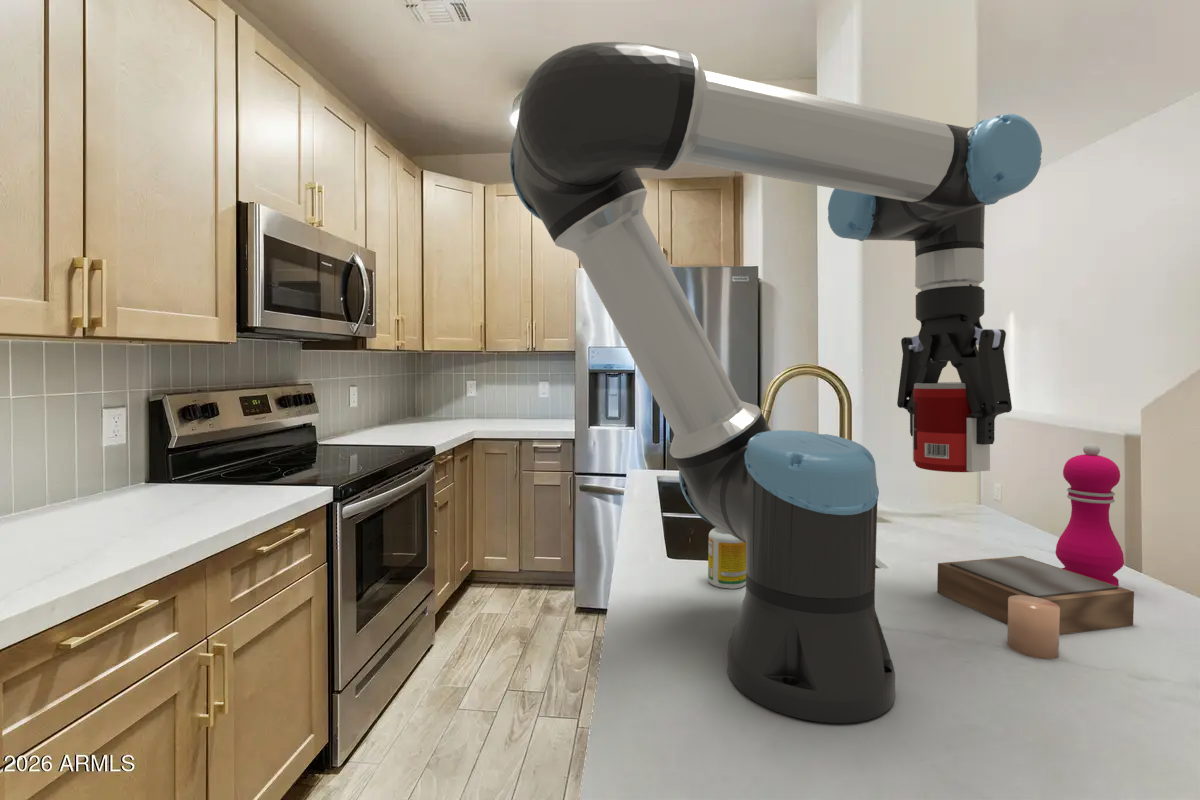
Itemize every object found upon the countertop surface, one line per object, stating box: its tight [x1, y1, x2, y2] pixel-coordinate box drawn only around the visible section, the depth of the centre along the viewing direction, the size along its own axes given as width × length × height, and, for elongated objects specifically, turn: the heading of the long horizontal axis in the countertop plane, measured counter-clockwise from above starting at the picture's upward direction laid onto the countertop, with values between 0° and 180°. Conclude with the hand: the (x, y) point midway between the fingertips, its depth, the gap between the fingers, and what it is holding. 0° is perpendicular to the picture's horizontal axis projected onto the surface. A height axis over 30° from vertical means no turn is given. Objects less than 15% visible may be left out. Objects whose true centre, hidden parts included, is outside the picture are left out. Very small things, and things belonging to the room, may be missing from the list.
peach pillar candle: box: [1006, 595, 1060, 660], centre depth 61 cm, size 4×4×5 cm
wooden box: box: [936, 555, 1135, 636], centre depth 72 cm, size 14×14×4 cm
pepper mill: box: [1055, 443, 1125, 587], centre depth 79 cm, size 7×7×20 cm
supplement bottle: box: [707, 526, 746, 590], centre depth 81 cm, size 5×5×10 cm
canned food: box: [913, 381, 983, 473], centre depth 74 cm, size 8×8×11 cm
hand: (949, 465), depth 74 cm, fingers closed on canned food, 8 cm apart
